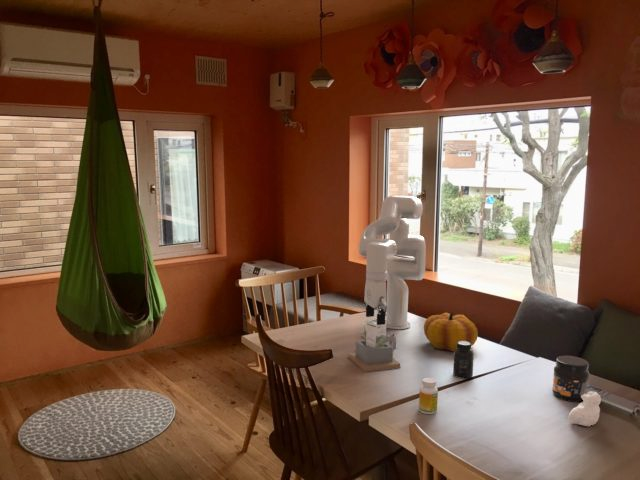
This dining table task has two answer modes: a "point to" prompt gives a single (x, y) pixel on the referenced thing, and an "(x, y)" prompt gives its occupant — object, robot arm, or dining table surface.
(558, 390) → the supplement container
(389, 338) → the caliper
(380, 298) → the robot arm
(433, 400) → the supplement bottle
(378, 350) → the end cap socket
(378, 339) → the syrup box
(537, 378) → the dining table surface
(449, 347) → the decorative pumpkin
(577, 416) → the bust
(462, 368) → the supplement bottle
